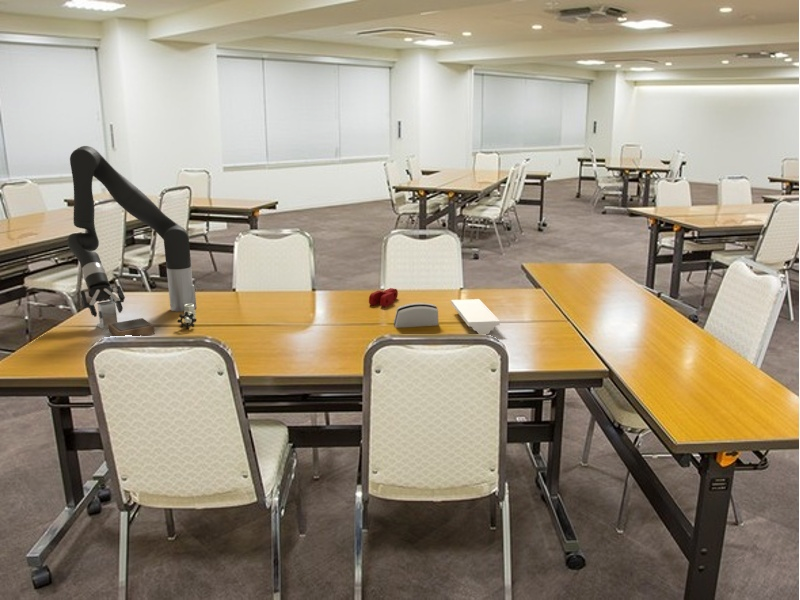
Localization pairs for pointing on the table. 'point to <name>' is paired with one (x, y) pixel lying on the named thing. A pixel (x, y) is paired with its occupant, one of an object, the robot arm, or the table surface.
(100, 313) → the block
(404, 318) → the grey napkin holder
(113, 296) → the robot arm
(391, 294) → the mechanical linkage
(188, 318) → the valve
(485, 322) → the shelf
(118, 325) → the stand
